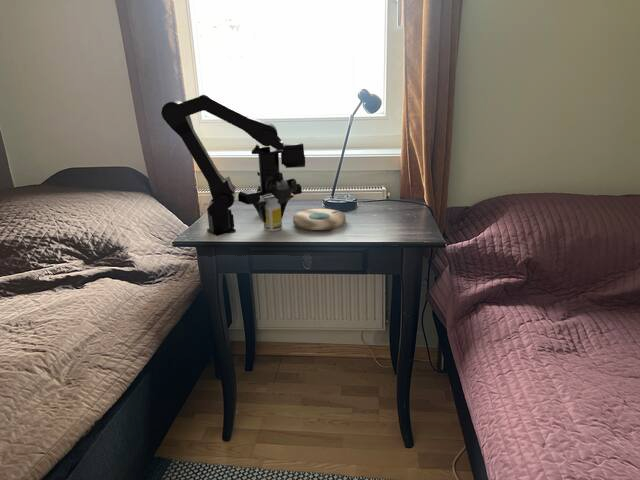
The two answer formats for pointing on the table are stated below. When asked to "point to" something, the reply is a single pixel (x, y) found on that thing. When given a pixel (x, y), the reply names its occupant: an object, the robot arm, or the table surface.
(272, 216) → the supplement bottle
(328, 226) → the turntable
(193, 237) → the table surface
